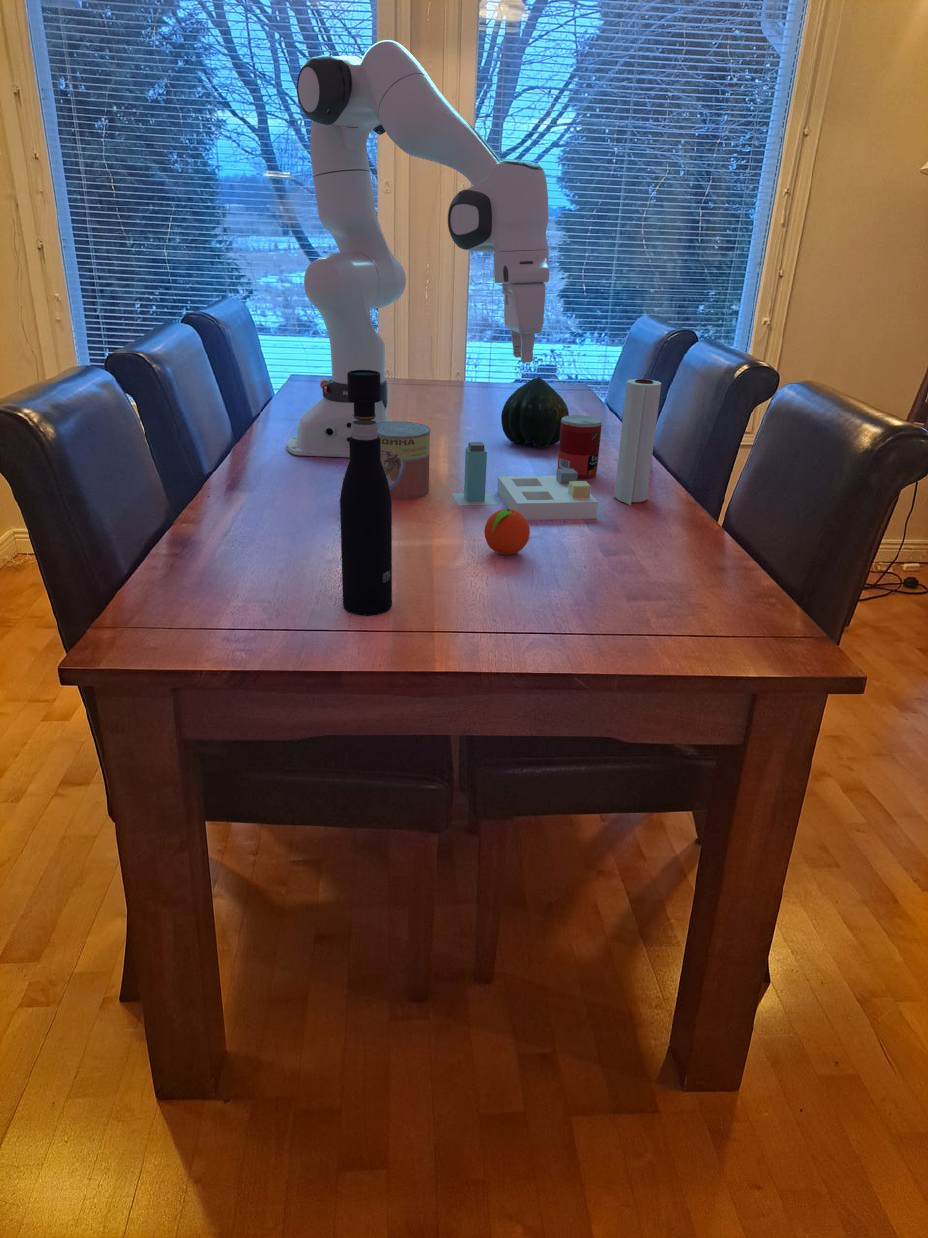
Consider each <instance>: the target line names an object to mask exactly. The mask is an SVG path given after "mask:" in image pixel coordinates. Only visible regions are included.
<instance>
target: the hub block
mask: <svg viewBox="0 0 928 1238" xmlns="http://www.w3.org/2000/svg"><path fill="white" fill-rule="evenodd" d="M577 475H578V473H577V472H576V471H575V470H574V469H557V468H556V475H521V476H519V475H512V476H504V475H503V476H502V475H501V476H500V475H499V476H497V486H496V487H497V489H496V490H497V491H496V493H497V494H498V495H499V498H501V500H502V501H503V503H504V504H505V506H506V507H507V509H512V510H515V511H518V512H519V513H520V514H522V515H523V516H524V517H525V519H526V520H527V521H543V520H545V521H546V520H547V521H548V520H587V519H597V515H598V506H599V502H598V500H597V499H596V498H595V497H594V496H593V495H592V494H591V489H592V488H591V487H592V486H591V484H589V483H588V482H587V481H586V480H578V479H577Z"/></svg>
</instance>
